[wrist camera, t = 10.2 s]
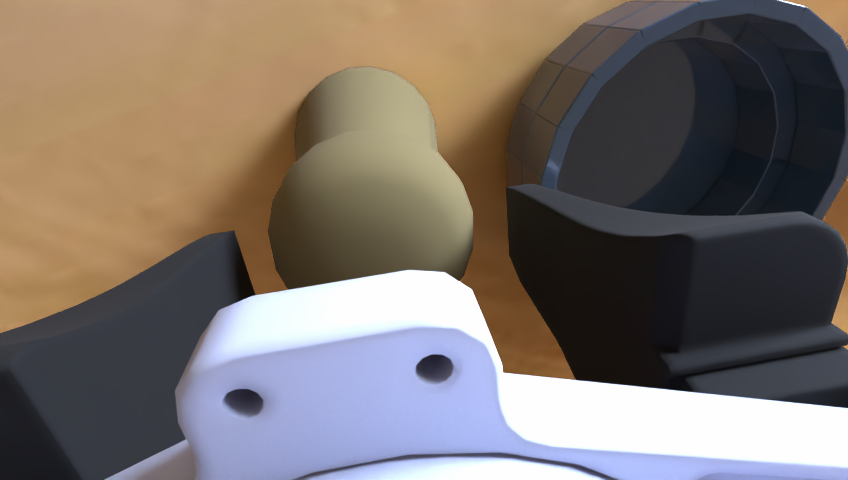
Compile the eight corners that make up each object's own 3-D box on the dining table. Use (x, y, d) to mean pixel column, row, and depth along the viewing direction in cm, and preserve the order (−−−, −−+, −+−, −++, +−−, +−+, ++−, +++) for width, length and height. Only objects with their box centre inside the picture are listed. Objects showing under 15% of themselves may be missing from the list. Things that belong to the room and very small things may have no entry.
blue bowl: (735, 239, 26) (815, 289, 21) (509, 278, 25) (542, 338, 20) (786, -23, 20) (908, -29, 16) (497, 18, 19) (538, 23, 15)
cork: (319, 219, 22) (289, 392, 12) (273, 85, 19) (189, 171, 10) (447, 188, 22) (519, 335, 12) (421, 50, 20) (485, 100, 10)
